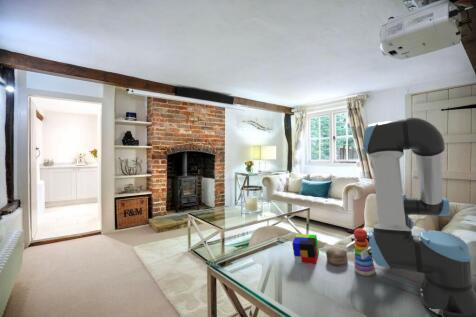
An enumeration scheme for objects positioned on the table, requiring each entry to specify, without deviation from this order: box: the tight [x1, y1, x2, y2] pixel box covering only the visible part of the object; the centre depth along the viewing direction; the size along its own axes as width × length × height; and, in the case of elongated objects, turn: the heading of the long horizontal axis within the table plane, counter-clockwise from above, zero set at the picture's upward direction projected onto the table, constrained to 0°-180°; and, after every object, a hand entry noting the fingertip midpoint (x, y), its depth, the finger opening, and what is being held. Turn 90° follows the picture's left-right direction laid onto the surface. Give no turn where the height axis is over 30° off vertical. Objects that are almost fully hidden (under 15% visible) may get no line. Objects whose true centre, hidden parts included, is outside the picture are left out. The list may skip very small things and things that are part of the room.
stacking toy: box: [353, 227, 376, 277], centre depth 99 cm, size 8×8×19 cm
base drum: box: [325, 247, 349, 267], centre depth 111 cm, size 9×9×4 cm
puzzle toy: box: [291, 233, 320, 265], centre depth 118 cm, size 10×10×10 cm
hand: (354, 252), depth 97 cm, fingers open, 6 cm apart
